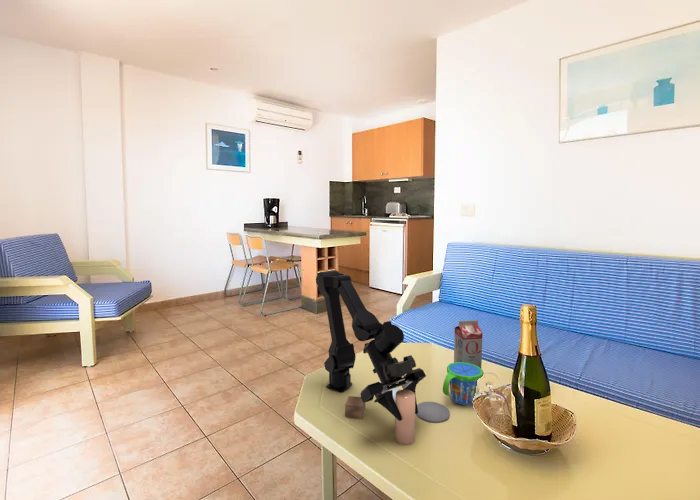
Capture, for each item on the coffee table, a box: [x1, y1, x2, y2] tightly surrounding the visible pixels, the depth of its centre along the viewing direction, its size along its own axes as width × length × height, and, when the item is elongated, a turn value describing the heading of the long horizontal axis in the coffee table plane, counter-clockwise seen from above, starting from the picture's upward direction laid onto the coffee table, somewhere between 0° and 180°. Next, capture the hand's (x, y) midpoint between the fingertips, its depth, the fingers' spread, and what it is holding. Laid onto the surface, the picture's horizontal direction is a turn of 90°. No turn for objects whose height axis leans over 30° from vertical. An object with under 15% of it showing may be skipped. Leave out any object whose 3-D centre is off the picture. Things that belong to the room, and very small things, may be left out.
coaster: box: [415, 401, 451, 424], centre depth 105 cm, size 10×10×1 cm
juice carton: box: [453, 319, 483, 369], centre depth 121 cm, size 7×7×22 cm
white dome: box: [389, 387, 401, 403], centre depth 111 cm, size 6×6×3 cm
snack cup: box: [442, 362, 485, 407], centre depth 111 cm, size 16×10×10 cm
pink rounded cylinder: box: [394, 389, 416, 445], centre depth 93 cm, size 5×5×12 cm
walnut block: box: [344, 395, 366, 420], centre depth 105 cm, size 5×5×4 cm
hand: (409, 416), depth 91 cm, fingers closed on pink rounded cylinder, 5 cm apart
